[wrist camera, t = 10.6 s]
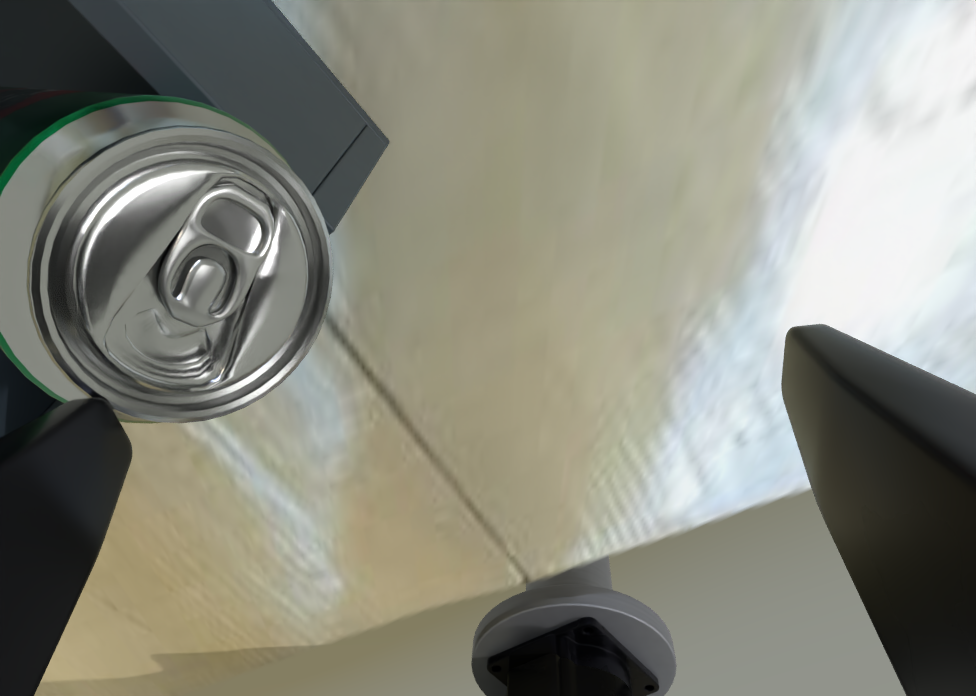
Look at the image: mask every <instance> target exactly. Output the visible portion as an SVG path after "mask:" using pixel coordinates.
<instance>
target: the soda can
mask: <svg viewBox="0 0 976 696" xmlns="http://www.w3.org/2000/svg"><path fill="white" fill-rule="evenodd" d="M332 283H333V255H332V249H331V243H330V237H329V234H328V230H327V227H326V224H325V221H324V218H323V216H322V214H321V211H320V209H319V207H318V205H317V203H316V201H315V199H314V198H313V196H312V195H311V193H310V192H309V190H308V189H307V187H306V186H305V184H304V183H303V182H302V180H301V179H300V178H299V177H298V176H297V175H296V174H295V172H294V171H293V169H292V168H291V166H290V165H289V164H288V162H287V161H286V159H285V158H284V157H283V156H282V155H281V154H280V153H279V152H278V150H277V149H276V148H275V147H274V146H273V145H272V144H271V143H270V142H269V141H268V140H267V139H266V138H264V137H263V136H262V135H261V134H259V133H258V132H257V131H256V130H254V129H253V128H252V127H251V126H249V125H248V124H246V123H244V122H242V121H241V120H239V119H237V118H235V117H234V116H232V115H230V114H229V113H227V112H224V111H222V110H219V109H217V108H214V107H211V106H209V105H206V104H204V103H201V102H197V101H192V100H187V99H183V98H178V97H173V96H156V95H139V94H122V93H105V92H87V91H70V90H53V89H35V88H18V87H0V348H1V350H2V351H3V352H4V353H5V354H6V356H7V357H8V358H9V359H10V360H11V361H12V362H13V363H14V365H15V366H16V367H17V368H18V369H19V370H20V371H21V372H22V373H23V375H24V376H25V377H26V378H28V379H29V380H30V381H31V382H33V383H34V384H35V385H37V386H38V387H39V388H40V389H42V390H43V391H44V392H45V393H47V394H48V395H50V396H51V397H53V398H55V399H57V400H59V401H61V402H62V403H66V402H68V401H71V400H74V399H83V398H93V397H99V398H102V399H104V400H106V401H107V402H108V403H109V404H110V406H111V407H112V409H113V411H114V413H115V414H116V416H117V418H118V420H119V421H120V422H127V423H161V422H167V423H187V422H196V421H205V420H209V419H213V418H217V417H221V416H224V415H227V414H230V413H232V412H235V411H237V410H240V409H242V408H244V407H246V406H248V405H250V404H252V403H253V402H255V401H257V400H259V399H260V398H262V397H264V396H265V395H267V394H268V393H269V392H270V391H272V390H273V389H274V388H276V387H277V386H278V385H280V384H281V383H282V382H283V381H284V380H285V379H286V378H287V377H288V376H289V375H290V374H291V373H292V372H293V371H294V370H295V369H296V367H297V366H298V365H299V364H300V362H301V361H302V360H303V358H304V357H305V356H306V354H307V353H308V352H309V350H310V348H311V346H312V345H313V343H314V341H315V339H316V338H317V336H318V334H319V331H320V329H321V327H322V324H323V322H324V319H325V317H326V313H327V309H328V306H329V302H330V298H331V291H332Z"/></svg>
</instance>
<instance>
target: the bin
mask: <svg viewBox="0 0 976 696" xmlns="http://www.w3.org/2000/svg"><path fill="white" fill-rule="evenodd" d="M0 87H18V88H35V89H53V90H70V91H87V92H105V93H122V94H139V95H156V96H173V97H178V98H183V99H187V100H192V101H197V102H201V103H204V104H206V105H209V106H211V107H214V108H217V109H219V110H222V111H224V112H227V113H229V114H230V115H232V116H234V117H235V118H237V119H239V120H241V121H242V122H244V123H246V124H248V125H249V126H251V127H252V128H253V129H254V130H256V131H257V132H258V133H259V134H261V135H262V136H263V137H264V138H266V139H267V140H268V141H269V142H270V143H271V144H272V145H273V146H274V147H275V148H276V149H277V150H278V152H279V153H280V154H281V155H282V156H283V157H284V158H285V159H286V161H287V162H288V164H289V165H290V166H291V168H292V169H293V171H294V172H295V174H296V175H297V176H298V177H299V178H300V179H301V180H302V182H303V183H304V184H305V186H306V187H307V189H308V190H309V192H310V193H311V195H312V196H313V198H314V199H315V201H316V203H317V205H318V207H319V209H320V211H321V214H322V216H323V218H324V221H325V224H326V227H327V230H328V234H329V235H330V234H331V233H332V232H334V230H335V229H336V227H337V226H338V224H339V222H340V221H341V219H342V218H343V216H344V214H345V213H346V211H347V210H348V208H349V206H350V205H351V203H352V202H353V200H354V198H355V197H356V195H357V194H358V192H359V190H360V189H361V187H362V186H363V184H364V182H365V181H366V179H367V178H368V176H369V174H370V173H371V171H372V170H373V168H374V166H375V165H376V163H377V162H378V160H379V158H380V157H381V155H382V154H383V152H384V150H385V149H386V147H387V146H388V144H389V140H388V139H387V138H386V136H385V135H384V134H383V133H382V132H381V130H380V129H379V128H378V127H377V126H376V124H375V123H374V122H373V121H372V120H371V119H370V117H369V116H368V115H367V114H366V113H365V111H364V110H363V109H362V108H361V107H360V105H359V104H358V103H357V102H356V101H355V99H354V98H353V97H352V96H351V95H350V94H349V92H348V91H347V90H346V89H345V88H344V86H343V85H342V84H341V83H340V82H339V80H338V79H337V78H336V77H335V76H334V75H333V73H332V72H331V71H330V70H329V69H328V67H327V66H326V65H325V64H324V63H323V61H322V60H321V59H320V58H319V57H318V56H317V54H316V53H315V52H314V51H313V50H312V48H311V47H310V46H309V45H308V44H307V42H306V41H305V40H304V39H303V38H302V36H301V35H300V34H299V33H298V32H297V31H296V29H295V28H294V27H293V26H292V25H291V23H290V22H289V21H288V20H287V19H286V17H285V16H284V15H283V14H282V13H281V12H280V10H279V9H278V8H277V7H276V6H275V4H274V3H273V2H272V1H271V0H0ZM62 404H64V403H62V402H61V401H59V400H57V399H55V398H53V397H51V396H50V395H48V394H47V393H45V392H44V391H43V390H42V389H40V388H39V387H38V386H37V385H35V384H34V383H33V382H31V381H30V380H29V379H28V378H26V377H25V376H24V375H23V373H22V372H21V371H20V370H19V369H18V368H17V367H16V366H15V365H14V363H13V362H12V361H11V360H10V359H9V358H8V357H7V356H6V354H5V353H4V352H3V351H2V350H1V348H0V437H2V436H4V435H6V434H8V433H10V432H11V431H13V430H15V429H17V428H19V427H21V426H23V425H25V424H27V423H28V422H30V421H32V420H34V419H36V418H38V417H40V416H42V415H44V414H45V413H47V412H49V411H51V410H53V409H55V408H57V407H59V406H60V405H62Z"/></svg>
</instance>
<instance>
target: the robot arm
mask: <svg viewBox="0 0 976 696" xmlns="http://www.w3.org/2000/svg"><path fill="white" fill-rule="evenodd" d="M782 395H783V400H784V404H785V407H786V410H787V413H788V416H789V419H790V422H791V425H792V429H793V432H794V435H795V438H796V441H797V444H798V447H799V450H800V454H801V457H802V460H803V463H804V466H805V469H806V472H807V475H808V479H809V482H810V485H811V488H812V491H813V493H814V496H815V499H816V502H817V504H818V507H819V509H820V511H821V514H822V516H823V518H824V520H825V523H826V525H827V527H828V529H829V531H830V534H831V536H832V538H833V540H834V542H835V544H836V546H837V548H838V550H839V553H840V555H841V557H842V559H843V561H844V563H845V566H846V568H847V570H848V572H849V574H850V576H851V578H852V580H853V583H854V585H855V587H856V589H857V591H858V593H859V595H860V598H861V599H862V602H863V604H864V606H865V608H866V610H867V613H868V615H869V617H870V619H871V621H872V623H873V625H874V627H875V630H876V632H877V634H878V636H879V638H880V640H881V642H882V644H883V647H884V649H885V651H886V653H887V655H888V657H889V659H890V662H891V664H892V666H893V668H894V670H895V672H896V674H897V677H898V679H899V681H900V683H901V685H902V687H903V689H904V691H905V694H906V696H976V394H974V393H972V392H970V391H968V390H965V389H963V388H961V387H959V386H957V385H955V384H952V383H950V382H948V381H946V380H944V379H942V378H939V377H937V376H935V375H933V374H931V373H929V372H927V371H924V370H922V369H920V368H918V367H916V366H914V365H911V364H909V363H907V362H905V361H903V360H901V359H899V358H896V357H894V356H892V355H890V354H888V353H886V352H883V351H881V350H879V349H877V348H875V347H873V346H871V345H868V344H866V343H864V342H862V341H860V340H858V339H855V338H853V337H851V336H849V335H847V334H845V333H842V332H840V331H838V330H836V329H834V328H832V327H830V326H827V325H825V324H816V325H806V326H797V327H792V328H791V329H790V330H789V331H788V332H787V335H786V339H785V349H784V360H783V371H782ZM131 459H132V446H131V442H130V440H129V438H128V436H127V434H126V433H125V431H124V429H123V427H122V425H121V424H120V422H119V420H118V418H117V416H116V414H115V413H114V411H113V409H112V407H111V406H110V404H109V403H108V402H107V401H106V400H104V399H102V398H99V397H93V398H83V399H74V400H71V401H68V402H66V403H64V404H62V405H60V406H59V407H57V408H55V409H53V410H51V411H49V412H47V413H45V414H44V415H42V416H40V417H38V418H36V419H34V420H32V421H30V422H28V423H27V424H25V425H23V426H21V427H19V428H17V429H15V430H13V431H11V432H10V433H8V434H6V435H4V436H2V437H0V696H34V694H35V692H36V690H37V688H38V686H39V684H40V681H41V679H42V677H43V675H44V673H45V671H46V668H47V666H48V664H49V662H50V660H51V658H52V655H53V653H54V651H55V649H56V647H57V645H58V642H59V640H60V638H61V636H62V634H63V632H64V629H65V627H66V625H67V623H68V621H69V619H70V616H71V614H72V612H73V610H74V608H75V606H76V603H77V601H78V599H79V597H80V595H81V592H82V590H83V588H84V586H85V584H86V582H87V579H88V577H89V575H90V573H91V571H92V568H93V566H94V564H95V562H96V559H97V557H98V555H99V552H100V549H101V546H102V544H103V541H104V538H105V535H106V533H107V530H108V527H109V524H110V521H111V518H112V515H113V512H114V509H115V506H116V503H117V500H118V498H119V495H120V492H121V489H122V486H123V483H124V480H125V477H126V474H127V471H128V468H129V466H130V463H131ZM487 670H488V672H489V673H491V674H492V675H493V676H494V677H496V678H497V679H498V680H499V681H501V682H502V683H503V684H504V685H505V686H507V696H647V695H650V694H653V693H655V692H657V691H658V690H659V682H658V678H657V677H656V676H655V675H654V674H653V673H652V672H651V671H650V670H649V669H648V668H646V667H645V666H644V665H643V664H642V663H641V662H640V661H639V660H638V659H637V658H636V657H635V656H634V655H633V654H632V653H631V652H630V651H629V650H628V649H627V648H626V647H624V646H623V645H622V644H621V643H620V642H619V641H618V640H617V639H616V638H615V637H614V636H613V635H612V634H611V633H610V632H609V631H608V630H607V629H606V628H605V627H604V626H602V625H601V624H600V623H599V622H598V621H597V620H596V619H595V618H592V617H583V618H580V619H578V620H576V621H573V622H571V623H569V624H566V625H564V626H561V627H559V628H557V629H554V630H552V631H550V632H547V633H545V634H543V635H540V636H538V637H536V638H533V639H531V640H529V641H526V642H524V643H521V644H519V645H517V646H514V647H512V648H510V649H507V650H505V651H503V652H500V653H498V654H496V655H493V656H491V657H489V658H488V660H487Z"/></svg>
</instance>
